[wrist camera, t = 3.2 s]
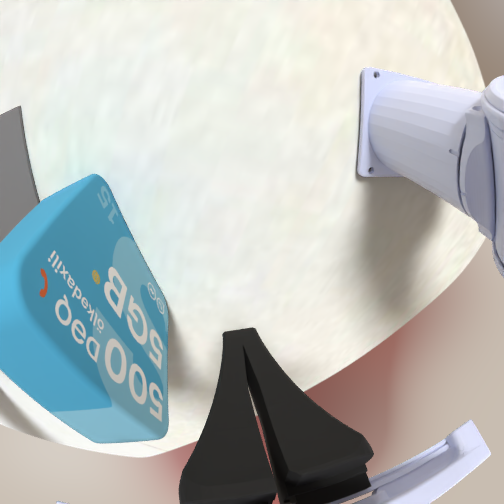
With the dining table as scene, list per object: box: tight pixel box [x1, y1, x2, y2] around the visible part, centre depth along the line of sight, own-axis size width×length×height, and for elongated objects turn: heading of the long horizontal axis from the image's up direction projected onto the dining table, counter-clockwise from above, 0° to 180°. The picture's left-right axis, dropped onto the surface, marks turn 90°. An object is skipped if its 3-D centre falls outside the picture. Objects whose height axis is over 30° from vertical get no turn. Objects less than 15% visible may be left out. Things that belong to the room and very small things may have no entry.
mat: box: [0, 106, 40, 243], centre depth 17 cm, size 14×24×1 cm, turn 2°
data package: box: [0, 174, 169, 443], centre depth 14 cm, size 12×4×12 cm, turn 14°
